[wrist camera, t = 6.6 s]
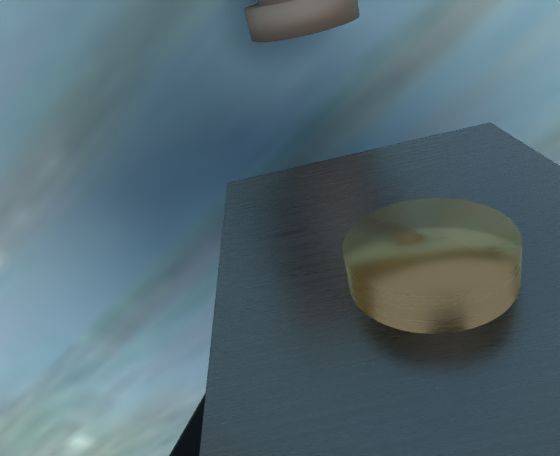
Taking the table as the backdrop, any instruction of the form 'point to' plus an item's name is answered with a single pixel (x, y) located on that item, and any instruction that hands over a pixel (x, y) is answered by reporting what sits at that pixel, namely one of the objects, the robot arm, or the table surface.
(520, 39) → the table surface
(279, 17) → the shaft stand
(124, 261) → the table surface
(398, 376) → the coupling block
